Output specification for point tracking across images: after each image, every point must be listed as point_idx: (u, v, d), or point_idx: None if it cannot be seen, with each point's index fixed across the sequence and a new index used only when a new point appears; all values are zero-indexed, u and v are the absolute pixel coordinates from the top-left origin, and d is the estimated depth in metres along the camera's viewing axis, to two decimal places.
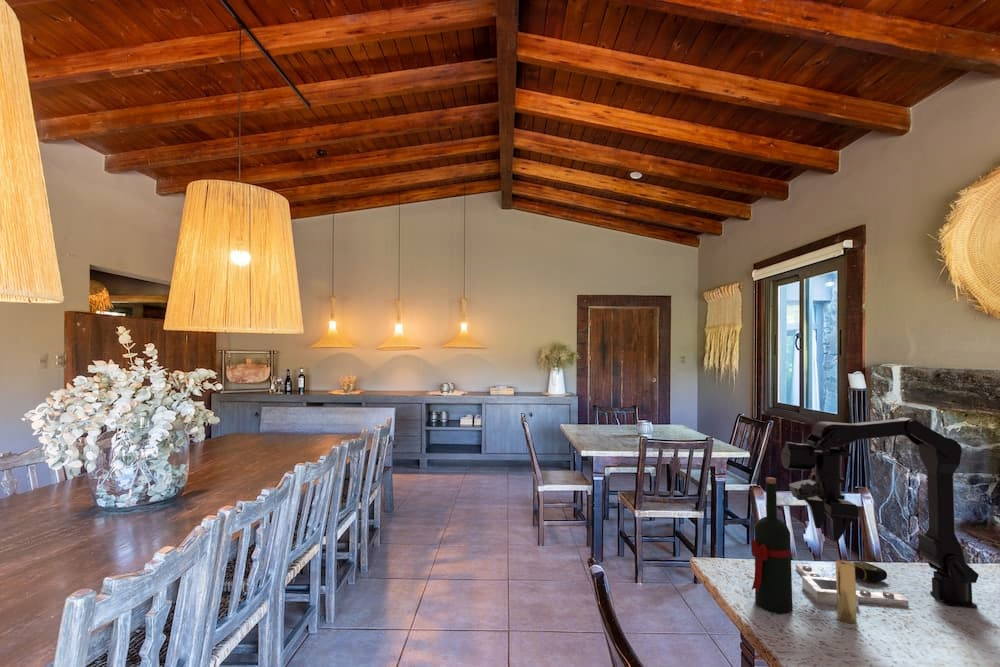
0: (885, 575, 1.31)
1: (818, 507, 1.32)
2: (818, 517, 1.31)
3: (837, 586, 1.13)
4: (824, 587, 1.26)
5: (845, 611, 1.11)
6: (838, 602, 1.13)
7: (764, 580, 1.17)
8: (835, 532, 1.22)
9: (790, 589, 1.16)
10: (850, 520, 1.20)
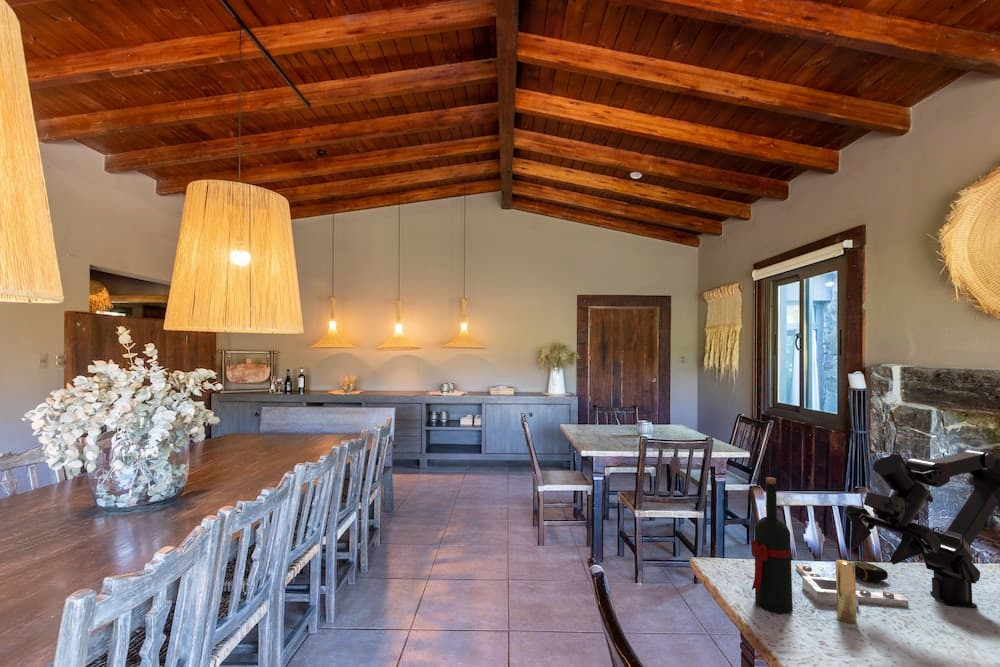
0: (886, 575, 1.31)
1: (862, 530, 1.21)
2: (858, 539, 1.21)
3: (837, 586, 1.13)
4: (824, 587, 1.26)
5: (845, 611, 1.11)
6: (838, 602, 1.13)
7: (764, 580, 1.17)
8: (899, 555, 1.11)
9: (790, 589, 1.16)
10: (919, 552, 1.11)
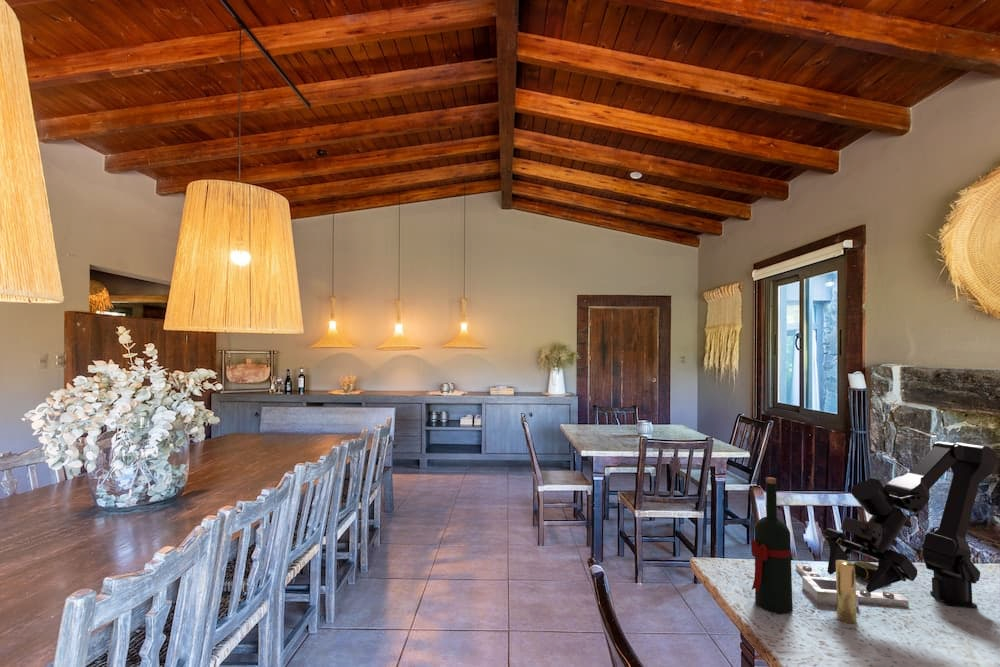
0: None
1: (839, 555, 1.19)
2: (835, 564, 1.18)
3: (837, 586, 1.13)
4: (824, 587, 1.26)
5: (845, 611, 1.11)
6: (838, 602, 1.13)
7: (764, 580, 1.17)
8: (875, 583, 1.08)
9: (790, 589, 1.16)
10: (895, 580, 1.08)
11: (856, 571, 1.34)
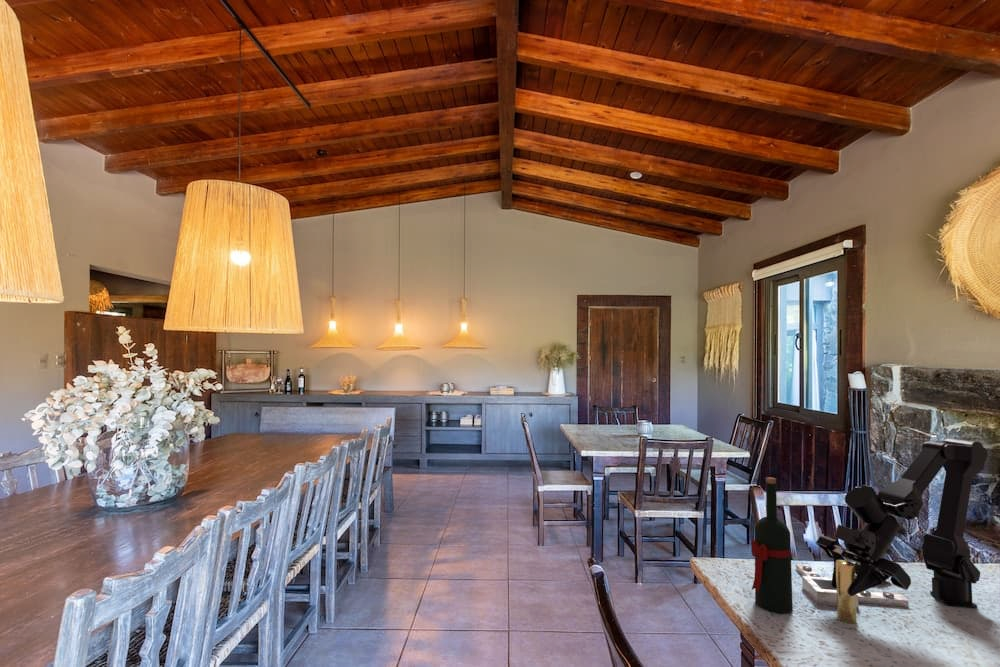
0: None
1: None
2: None
3: (837, 586, 1.13)
4: (824, 587, 1.26)
5: (845, 611, 1.11)
6: (838, 602, 1.13)
7: (764, 580, 1.17)
8: (857, 586, 1.10)
9: (790, 589, 1.16)
10: (877, 584, 1.10)
11: (857, 571, 1.34)
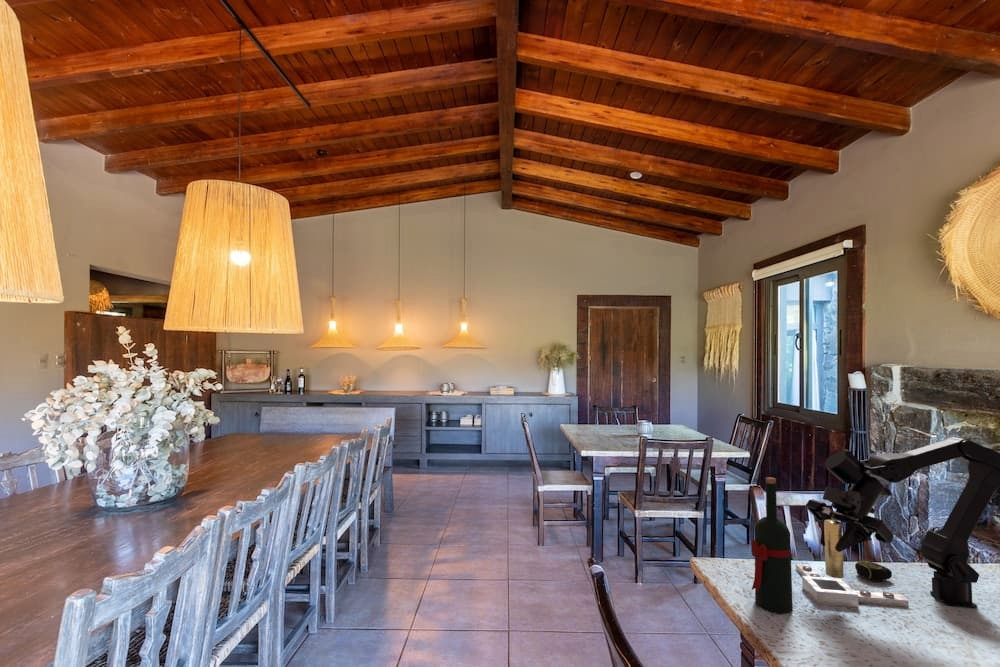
0: (890, 574, 1.32)
1: None
2: None
3: (825, 544, 1.21)
4: (824, 587, 1.26)
5: (833, 566, 1.19)
6: (826, 559, 1.20)
7: (764, 580, 1.17)
8: (844, 543, 1.18)
9: (790, 589, 1.16)
10: (862, 540, 1.18)
11: (859, 570, 1.34)
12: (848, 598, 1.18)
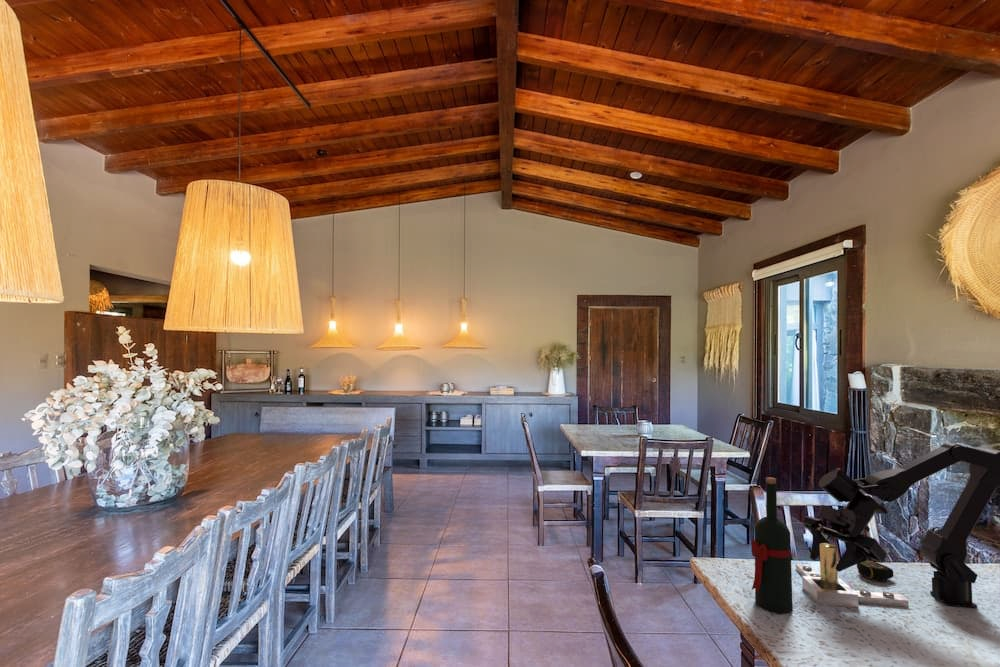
0: (891, 573, 1.32)
1: (821, 542, 1.28)
2: (817, 550, 1.27)
3: (821, 567, 1.24)
4: None
5: (828, 589, 1.22)
6: (821, 581, 1.23)
7: (764, 580, 1.17)
8: (843, 563, 1.19)
9: (790, 589, 1.16)
10: (862, 560, 1.20)
11: (861, 570, 1.34)
12: (848, 598, 1.18)
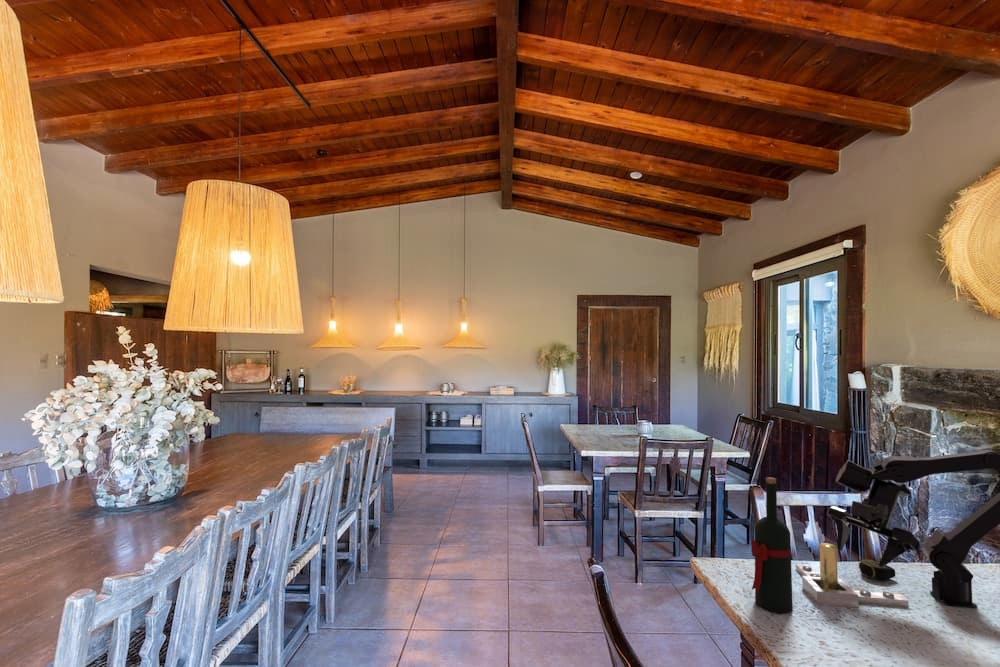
0: (893, 573, 1.33)
1: (845, 531, 1.30)
2: (843, 540, 1.29)
3: (821, 567, 1.24)
4: None
5: (828, 589, 1.22)
6: (821, 581, 1.23)
7: (764, 580, 1.17)
8: (886, 559, 1.20)
9: (790, 589, 1.16)
10: (901, 552, 1.21)
11: (863, 569, 1.35)
12: (848, 598, 1.18)
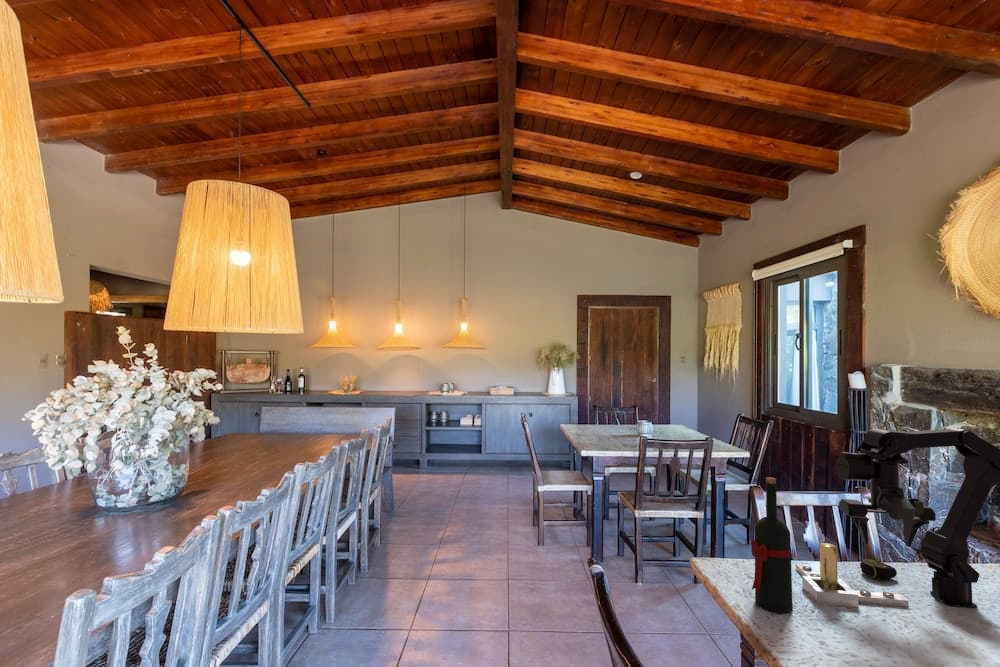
0: (895, 573, 1.33)
1: None
2: None
3: (821, 567, 1.24)
4: None
5: (828, 589, 1.22)
6: (821, 581, 1.23)
7: (764, 580, 1.17)
8: None
9: (790, 589, 1.16)
10: None
11: (864, 569, 1.35)
12: (848, 598, 1.18)
